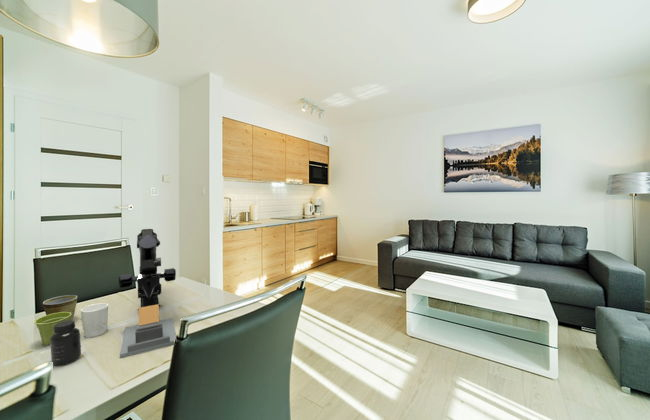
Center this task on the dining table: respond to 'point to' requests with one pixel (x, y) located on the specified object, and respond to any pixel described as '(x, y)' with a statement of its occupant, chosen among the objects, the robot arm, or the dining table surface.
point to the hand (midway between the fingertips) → (149, 297)
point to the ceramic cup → (61, 305)
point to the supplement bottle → (65, 343)
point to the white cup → (94, 319)
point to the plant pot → (50, 324)
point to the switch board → (147, 338)
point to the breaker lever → (148, 317)
